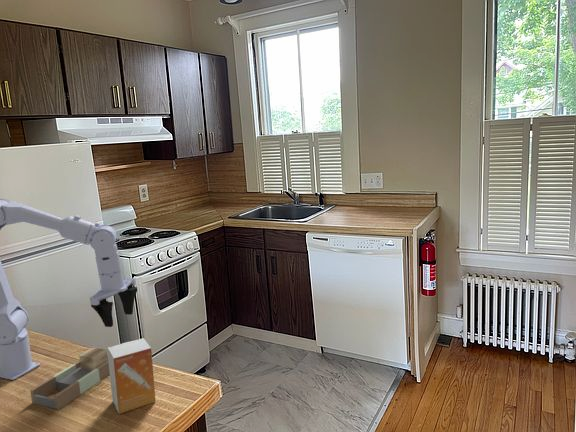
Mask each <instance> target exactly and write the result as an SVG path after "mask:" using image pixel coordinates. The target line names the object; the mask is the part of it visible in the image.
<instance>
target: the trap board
mask: <svg viewBox="0 0 576 432" xmlns="http://www.w3.org/2000/svg"><path fill="white" fill-rule="evenodd" d="M108 376H110V372H109V362H108V361H107V362H105V363H104V364H102V365H101V366H99V367H97V368H96V369H94V370H93V371H90V370H85V369H81V366H80V359H79V360H78V361H76V362H75V363H72V364H71V365H70V366H68V367H66V368H64V369H63V370H61V371H59V372H58V373H56V374H54V375H53V376H51V377H49V378H48V379H45V381H43V382H41V383H40V384H39V383H38V385H36V386H34V387H33V388H32V389H30V391H29V392H30V397H31V403H32V404H35V405H38V406H43V407H47V408H50V409H54V410H60V409H62V408H63V407H65V406H66V405H68V404H69V403H70V402H72V401H74V400H75V399H76V398H78V397H79V396H81V395H82V394H83V393H85V392H86V391H88V390H89V389H91V388H92V387H94V386H95V385H97V384H98V383H100V381H102V380H104V379H105V378H107V377H108ZM57 390H58V391H59V392H57V393H56V394H54V398H53V397H48V396H49V395H51V394H52V393H54V392H55V391H57Z"/></svg>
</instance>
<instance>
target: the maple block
mask: <svg viewBox="0 0 576 432" xmlns="http://www.w3.org/2000/svg"><path fill="white" fill-rule="evenodd" d="M78 359H79V360H80V366H81V369H85V370H90V371H93V370H94V369H96V368H97V367H99V366H101V365H102V364H104V363H105V362H107V361H108V353H107V349H104V348H98V347H91V348H90V349H88V350H87V351H85V352H82V353H81V354H79V356H78Z"/></svg>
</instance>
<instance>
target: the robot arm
mask: <svg viewBox="0 0 576 432" xmlns="http://www.w3.org/2000/svg"><path fill="white" fill-rule="evenodd" d="M18 223H27V224H31V225H35V226H38V227H42V228H46V229H50V230H54V231H57V232H58V233H59V235H60V236H61V238H63V239H67V240H70V241H74V242H77V243H79V244H83V245H87V246H89V245H90V246H91V248H92V249H93V250H94V253H95V262H96V267H97V273H98V278H99V283H100V287H101V289H99V291H97V292H96V293H95V294H93V295H92V296H90V297H89V300H90V301H89V302H90V307H91V308H92V309H94V311H95V313H97V314H98V316H99V317H100V319H101V321H102V323H103V325H104V327H106V328H111V327H113V326H114V319H113V305H114V301H108V299H110V298H111V297H113V296H115V295H117V294H118V296H119V298H120V301H121V304H122V308H123V313H124V314H125V315H129V316H131V315H133V313H134V302H135V299H136V295H137V292H138V287H137V286H136V279H135V278H134V277H132V278H131V277H129V278H126V279H124V275H123V269H122V263H121V259H120V254H119V253H120V252H119V251H118V250H119V249H118V246H117V243H116V241H117V238H118V237H117V236H118V233H117V231H116V230H115V229H114V227H112V226H110V225H109V224H101V222H98V221H96V222H95V223H94V222H91V221H88V220H85V219H83V218H82V216H80V215H77V214H76V215H74V216H72V215H69V216H67V217H64V218H62V217H59V216H57V215H54V214H52V213H49V212H46V211H43V210H40V209H38V208H35V207H32V206H29V205H27V204H24V203H21V202H18V201H14V200H12V201H10V200H8V199H5V198H0V231H1V230H2V228H4V227H5V226H9V225H13V224H18ZM29 321H30V316H29V314H28V311H26V309H24V308H23V307H22V304H21V302H20V301H19V300H18V299H16V298H15V297H14V295H13V292H12V289H11V285H10V284H9V281H8V278H7V275H6V272H5V270H4V267H3V264H2V260H0V378H2V379H6V380H11V381H15V380H16V379H18V378H21V377H22V376H23V375H25V374H27V373H28V372H31V371H33V370H34V369H36V368H37V367H39V366H41V363H40V362H36V361H33V360H32V353H31V346H30V340H29V332H28V331H27V329H26V326H27V325H28V323H29Z"/></svg>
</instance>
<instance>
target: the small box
mask: <svg viewBox="0 0 576 432" xmlns="http://www.w3.org/2000/svg"><path fill="white" fill-rule="evenodd" d="M106 350H107V355H108V362H109V372H110V374H109V382H110V389H111V390H110V391H111V398H112V403H113V405H114V407H115V409H116V412H117V413H118V415H121V414H124V413H126V412H129V411H133V410H135V409H138V408H141V407H144V406H146V405H149V404H154V403H156V392H155V391H156V390H155V389H156V388H155V377H154V366H153V365H154V363H153V355H152V347H151V346H150V345H149V343H148V342H147V341H146V339H145V338H144V337H143V338H139V339H135V340H131V341H126V342H123V343H120V344H117V345H112V346H109V347H107V348H106Z"/></svg>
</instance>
